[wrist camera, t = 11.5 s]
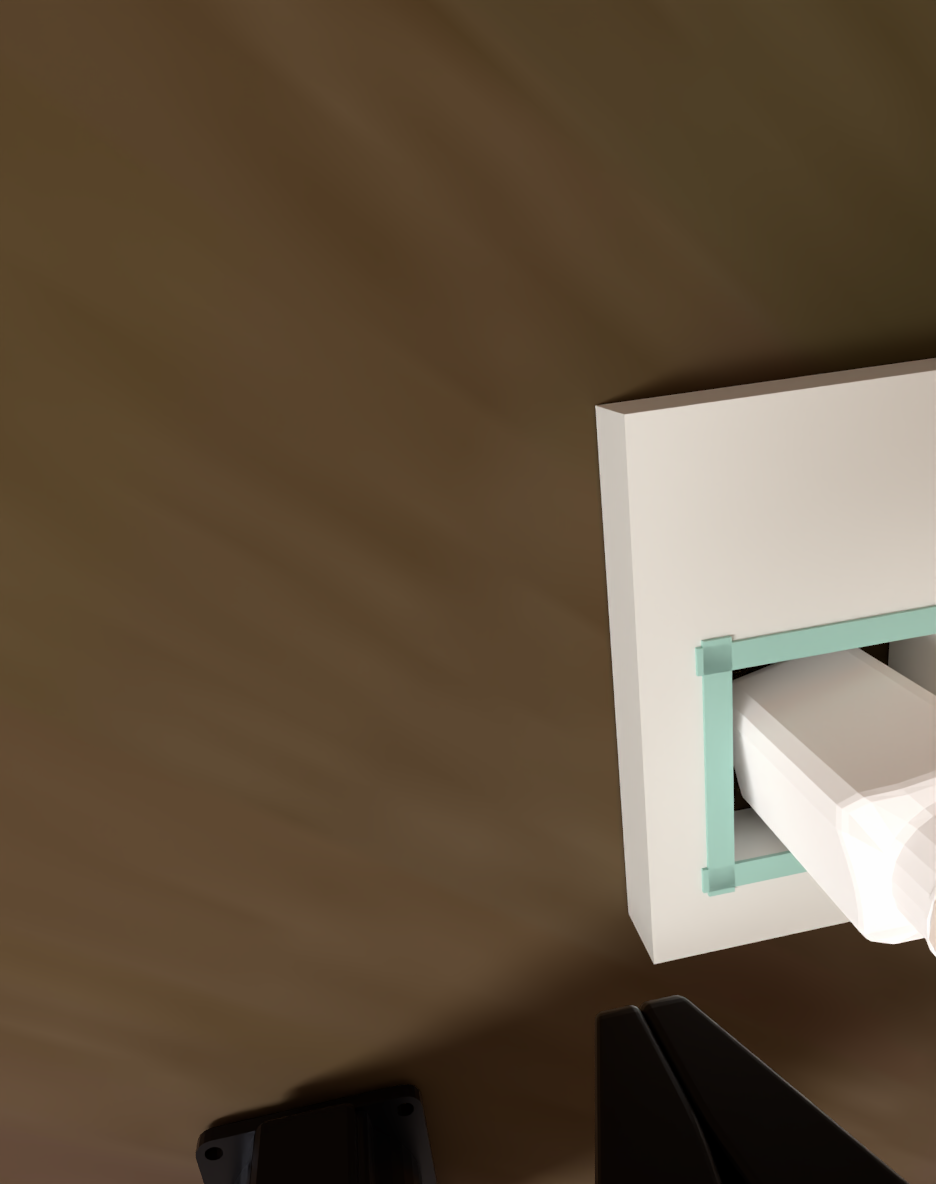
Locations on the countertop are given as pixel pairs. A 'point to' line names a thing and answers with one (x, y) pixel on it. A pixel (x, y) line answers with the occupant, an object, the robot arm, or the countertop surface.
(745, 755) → the salt shaker
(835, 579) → the port plate
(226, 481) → the countertop surface
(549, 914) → the countertop surface
